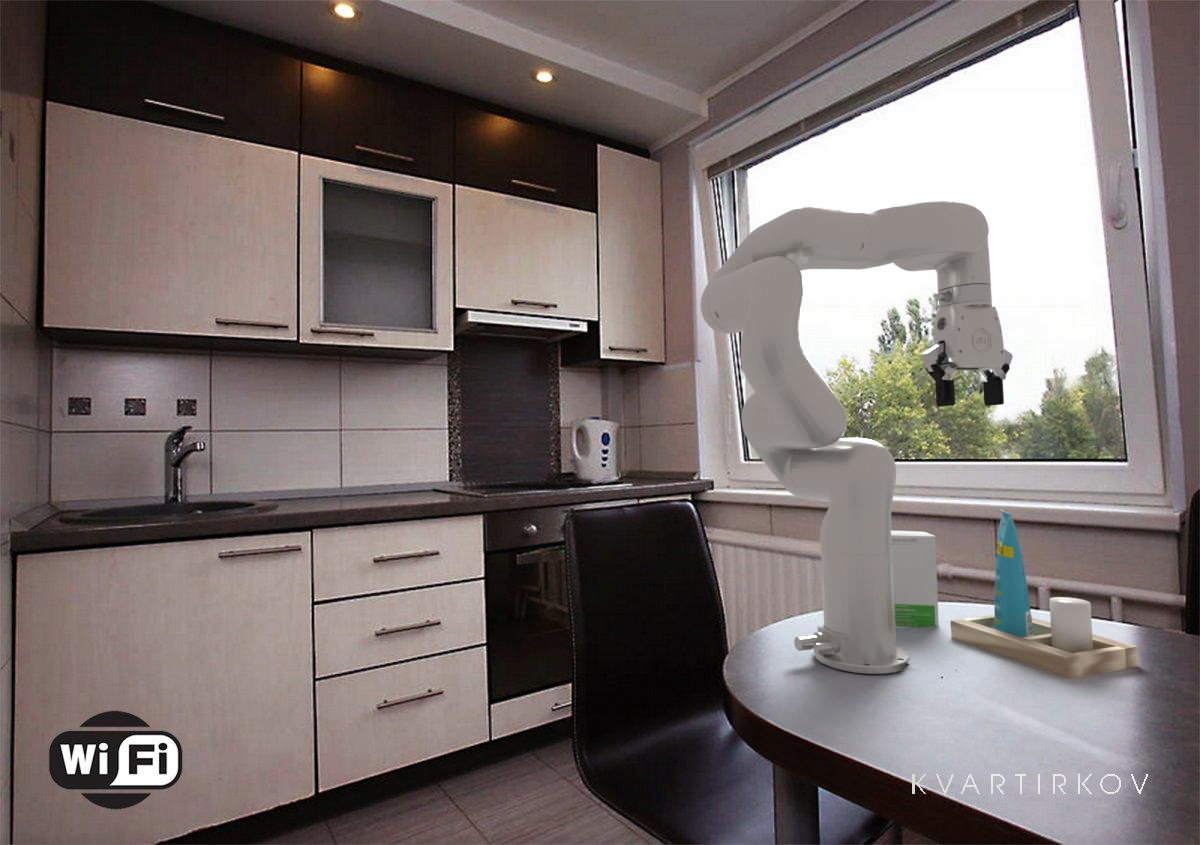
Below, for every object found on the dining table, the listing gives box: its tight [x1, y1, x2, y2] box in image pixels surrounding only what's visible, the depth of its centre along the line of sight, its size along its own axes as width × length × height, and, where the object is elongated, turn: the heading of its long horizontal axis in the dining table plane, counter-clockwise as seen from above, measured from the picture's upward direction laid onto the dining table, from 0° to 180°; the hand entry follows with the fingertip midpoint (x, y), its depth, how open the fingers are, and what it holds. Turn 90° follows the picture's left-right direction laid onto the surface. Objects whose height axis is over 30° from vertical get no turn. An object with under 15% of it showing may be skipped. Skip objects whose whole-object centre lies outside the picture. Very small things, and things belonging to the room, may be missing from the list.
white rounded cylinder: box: [1049, 596, 1093, 653], centre depth 84 cm, size 4×4×8 cm
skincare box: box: [891, 530, 940, 631], centre depth 106 cm, size 8×7×16 cm
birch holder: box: [950, 614, 1140, 679], centre depth 89 cm, size 12×18×4 cm, turn 16°
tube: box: [993, 508, 1034, 638], centre depth 92 cm, size 7×5×19 cm, turn 161°
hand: (970, 405), depth 102 cm, fingers open, 9 cm apart
